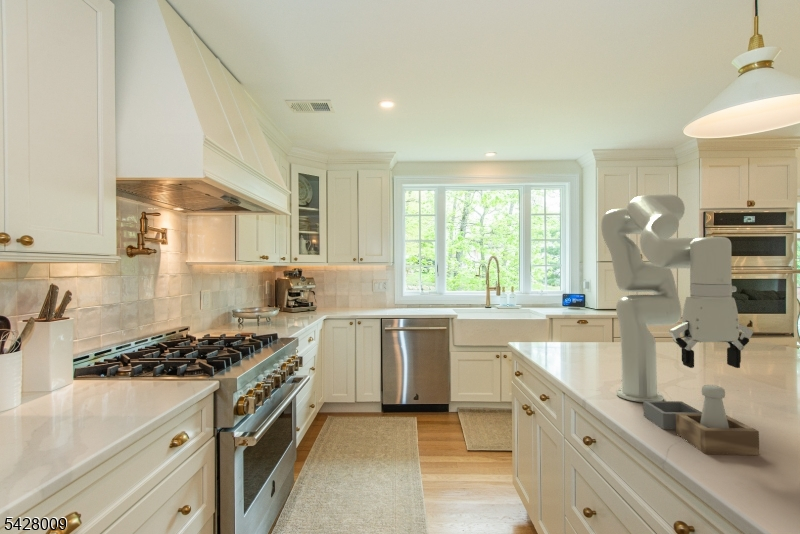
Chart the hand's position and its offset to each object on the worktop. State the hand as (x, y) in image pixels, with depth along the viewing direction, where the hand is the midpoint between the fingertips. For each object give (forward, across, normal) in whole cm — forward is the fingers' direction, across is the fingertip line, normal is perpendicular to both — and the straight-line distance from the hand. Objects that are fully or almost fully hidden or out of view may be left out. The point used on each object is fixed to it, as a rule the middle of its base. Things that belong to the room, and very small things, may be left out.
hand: (710, 366), depth 94 cm
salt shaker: (+18, 0, +1) cm, 18 cm away
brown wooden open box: (+17, 0, +1) cm, 17 cm away
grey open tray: (+18, +2, -12) cm, 21 cm away
